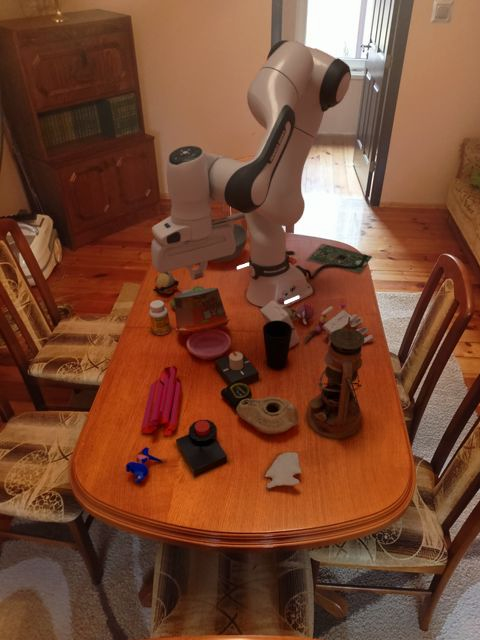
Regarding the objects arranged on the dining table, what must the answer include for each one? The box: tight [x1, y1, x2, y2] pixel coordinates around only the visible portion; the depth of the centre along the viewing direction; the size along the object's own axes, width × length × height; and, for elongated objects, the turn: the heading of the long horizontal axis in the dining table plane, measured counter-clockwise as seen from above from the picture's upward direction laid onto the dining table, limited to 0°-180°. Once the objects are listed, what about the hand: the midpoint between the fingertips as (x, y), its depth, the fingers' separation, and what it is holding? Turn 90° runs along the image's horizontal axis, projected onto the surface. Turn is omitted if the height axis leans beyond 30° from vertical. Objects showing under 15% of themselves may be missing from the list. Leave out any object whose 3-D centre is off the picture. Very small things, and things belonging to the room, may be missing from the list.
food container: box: [173, 287, 230, 335], centre depth 140 cm, size 16×16×11 cm
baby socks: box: [350, 313, 374, 344], centre depth 144 cm, size 12×5×3 cm, turn 17°
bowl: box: [208, 223, 248, 264], centre depth 177 cm, size 20×20×10 cm
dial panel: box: [214, 350, 260, 387], centre depth 130 cm, size 8×10×3 cm
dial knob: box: [228, 350, 243, 370], centre depth 128 cm, size 4×4×4 cm
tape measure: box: [220, 382, 253, 412], centre depth 122 cm, size 7×7×4 cm
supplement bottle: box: [148, 299, 171, 336], centre depth 143 cm, size 5×5×10 cm
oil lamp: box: [235, 396, 299, 435], centre depth 115 cm, size 11×15×8 cm
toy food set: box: [169, 285, 205, 310], centre depth 155 cm, size 13×13×3 cm
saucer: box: [186, 329, 232, 361], centre depth 138 cm, size 12×12×3 cm
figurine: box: [125, 446, 163, 484], centre depth 106 cm, size 5×8×5 cm, turn 158°
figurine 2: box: [278, 298, 322, 344], centre depth 144 cm, size 11×13×15 cm
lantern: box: [306, 317, 365, 440], centre depth 109 cm, size 17×13×30 cm
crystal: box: [140, 364, 183, 437], centre depth 121 cm, size 8×6×25 cm
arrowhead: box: [264, 451, 302, 489], centre depth 106 cm, size 8×2×10 cm
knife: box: [286, 250, 295, 255], centre depth 186 cm, size 14×4×1 cm, turn 30°
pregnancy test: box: [320, 305, 354, 335], centre depth 143 cm, size 8×12×1 cm, turn 141°
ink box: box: [259, 301, 300, 349], centre depth 138 cm, size 9×5×12 cm, turn 31°
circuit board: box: [307, 243, 373, 274], centre depth 180 cm, size 14×20×1 cm
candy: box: [318, 301, 347, 347], centre depth 144 cm, size 18×8×6 cm, turn 173°
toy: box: [152, 271, 180, 295], centre depth 159 cm, size 8×9×15 cm
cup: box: [262, 320, 292, 371], centre depth 131 cm, size 8×8×12 cm
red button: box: [195, 419, 210, 437], centre depth 110 cm, size 3×3×2 cm
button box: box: [175, 419, 228, 478], centre depth 110 cm, size 9×11×4 cm
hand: (197, 277), depth 118 cm, fingers closed
